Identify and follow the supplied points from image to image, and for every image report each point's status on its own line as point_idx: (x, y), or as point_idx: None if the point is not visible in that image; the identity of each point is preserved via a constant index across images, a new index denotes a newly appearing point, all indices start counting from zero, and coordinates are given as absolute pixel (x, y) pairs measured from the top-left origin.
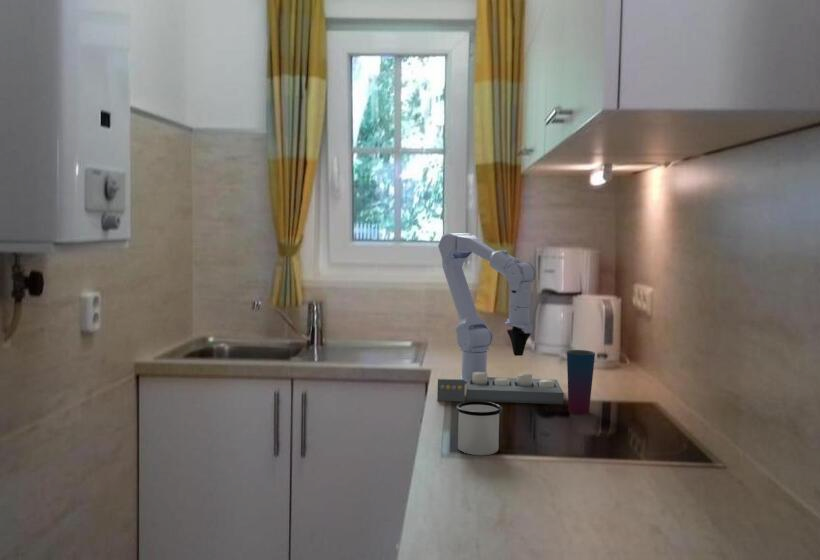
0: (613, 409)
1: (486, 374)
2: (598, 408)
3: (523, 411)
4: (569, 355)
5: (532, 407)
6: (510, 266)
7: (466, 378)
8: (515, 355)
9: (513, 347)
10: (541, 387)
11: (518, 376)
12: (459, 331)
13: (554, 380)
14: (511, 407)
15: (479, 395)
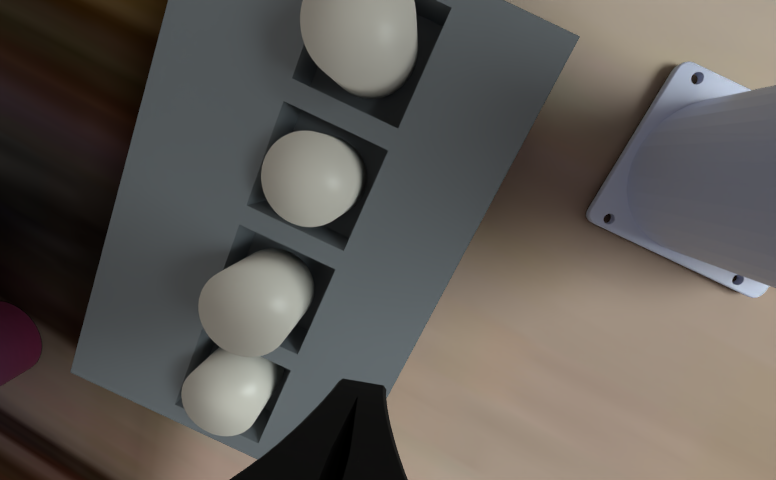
0: (34, 465)
1: (314, 61)
2: (50, 428)
3: (20, 123)
4: None
5: (81, 197)
6: None
7: (690, 107)
8: (343, 378)
9: (354, 423)
10: (185, 336)
11: (235, 265)
12: None
13: None
14: (89, 101)
15: None
